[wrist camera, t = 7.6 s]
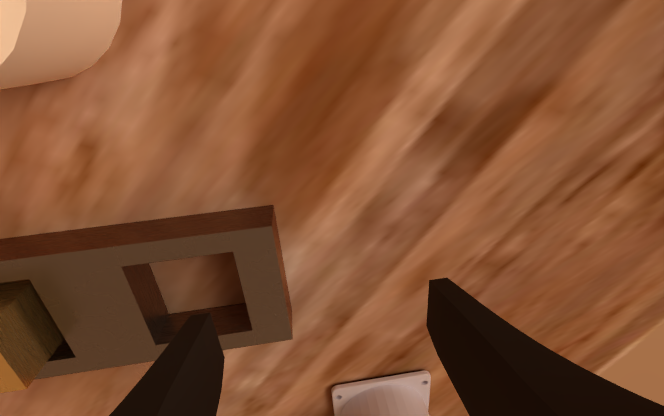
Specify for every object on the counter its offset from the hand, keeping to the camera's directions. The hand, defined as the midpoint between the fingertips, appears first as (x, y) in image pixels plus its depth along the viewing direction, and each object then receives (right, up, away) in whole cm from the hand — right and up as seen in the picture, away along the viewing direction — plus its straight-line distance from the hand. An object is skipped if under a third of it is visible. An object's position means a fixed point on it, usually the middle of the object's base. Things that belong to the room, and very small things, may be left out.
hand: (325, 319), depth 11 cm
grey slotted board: (-14, -1, +9) cm, 17 cm away
